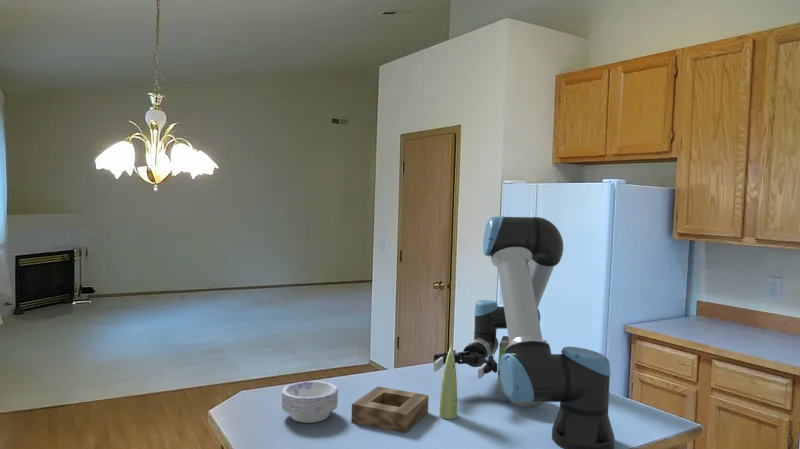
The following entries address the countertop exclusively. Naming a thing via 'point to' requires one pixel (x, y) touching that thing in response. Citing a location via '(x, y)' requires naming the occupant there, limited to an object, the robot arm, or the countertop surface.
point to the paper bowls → (309, 400)
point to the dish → (524, 404)
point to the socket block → (390, 409)
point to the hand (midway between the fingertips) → (456, 370)
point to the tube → (449, 388)
